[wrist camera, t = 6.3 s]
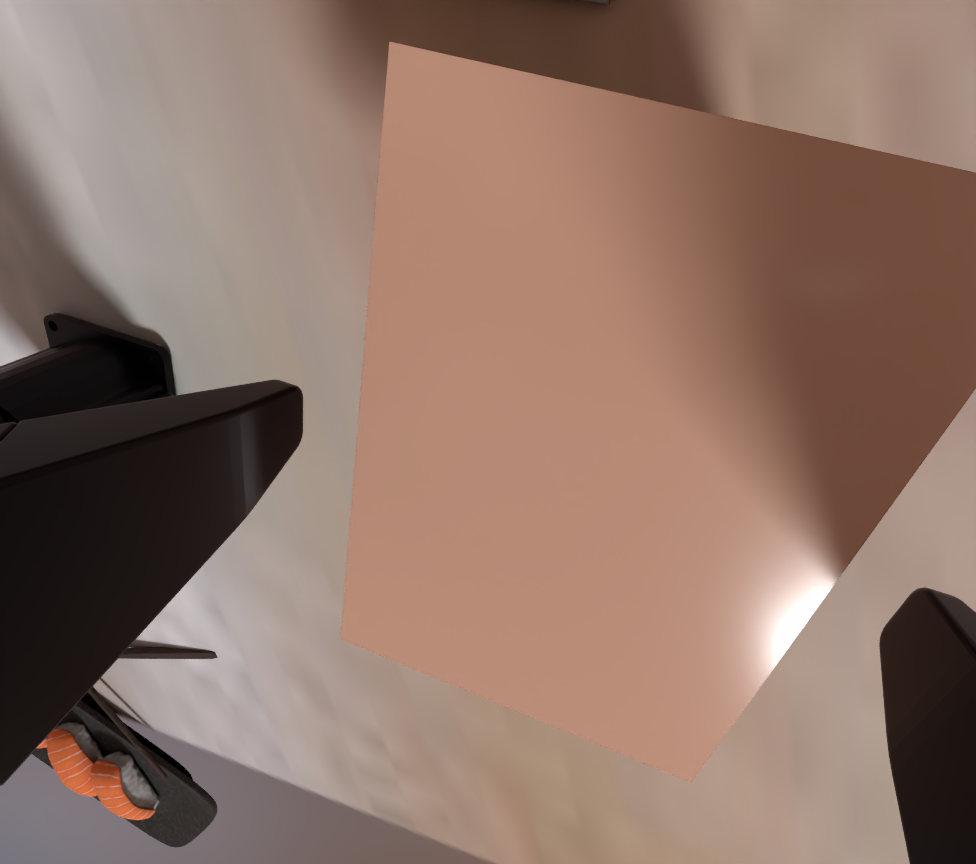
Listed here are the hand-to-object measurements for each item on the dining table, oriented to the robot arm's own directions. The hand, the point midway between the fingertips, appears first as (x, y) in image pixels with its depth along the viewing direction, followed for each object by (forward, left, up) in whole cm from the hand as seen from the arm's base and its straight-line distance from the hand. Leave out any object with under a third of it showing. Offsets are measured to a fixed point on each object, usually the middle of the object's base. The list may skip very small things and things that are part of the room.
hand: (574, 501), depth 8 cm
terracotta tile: (0, 0, -2) cm, 2 cm away
